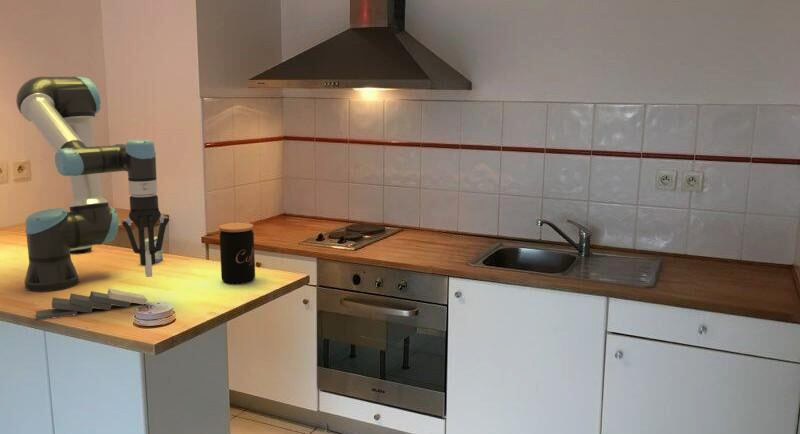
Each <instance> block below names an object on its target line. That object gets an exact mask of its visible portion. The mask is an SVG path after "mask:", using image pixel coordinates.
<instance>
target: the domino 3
mask: <svg viewBox="0 0 800 434" xmlns="http://www.w3.org/2000/svg"><path fill="white" fill-rule="evenodd" d="M69 299H70V301H71V304H74V305H80V306H86V307H92V309H99V310H104V311H110V310H111V307H112V305H111V304H105V303H99V302H93V301H92V300H91V298H90V295H84V294H77V293H70V296H69Z"/></svg>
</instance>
